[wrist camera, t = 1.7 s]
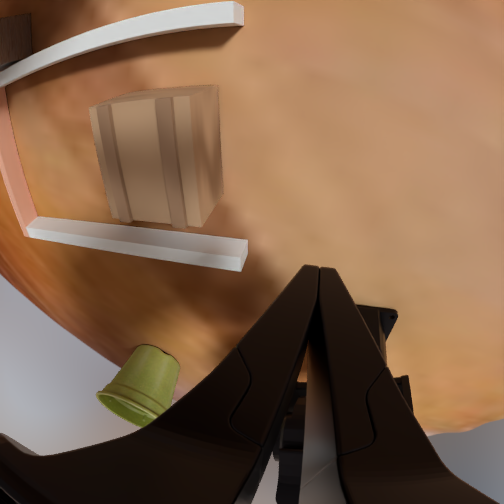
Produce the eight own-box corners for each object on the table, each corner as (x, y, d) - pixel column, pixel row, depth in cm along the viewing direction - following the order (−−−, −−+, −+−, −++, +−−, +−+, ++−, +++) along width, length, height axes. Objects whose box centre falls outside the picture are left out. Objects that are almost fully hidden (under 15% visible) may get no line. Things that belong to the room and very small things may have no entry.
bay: (247, 253, 22) (241, 271, 20) (36, 225, 26) (24, 236, 25) (243, 6, 12) (233, 0, 10) (-2, 77, 16) (-18, 83, 14)
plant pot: (113, 331, 35) (81, 386, 28) (173, 338, 32) (142, 405, 25) (147, 372, 40) (123, 422, 33) (203, 381, 37) (182, 439, 30)
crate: (223, 193, 19) (199, 230, 16) (143, 188, 20) (109, 220, 17) (217, 84, 15) (186, 96, 12) (128, 92, 16) (85, 109, 13)
